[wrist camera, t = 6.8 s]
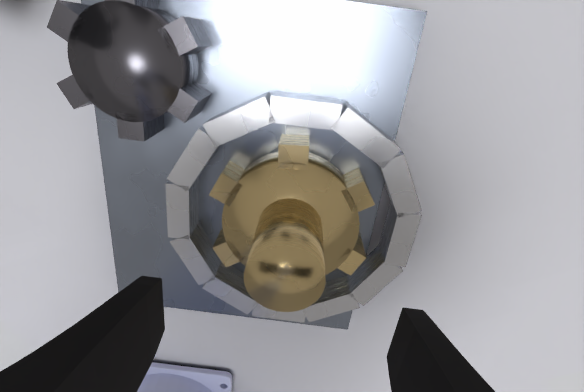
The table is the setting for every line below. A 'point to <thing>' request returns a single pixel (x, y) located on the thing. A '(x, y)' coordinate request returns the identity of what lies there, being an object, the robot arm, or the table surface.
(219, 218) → the carrier plate
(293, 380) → the table surface
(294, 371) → the table surface
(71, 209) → the table surface
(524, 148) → the table surface
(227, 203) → the planet gear
